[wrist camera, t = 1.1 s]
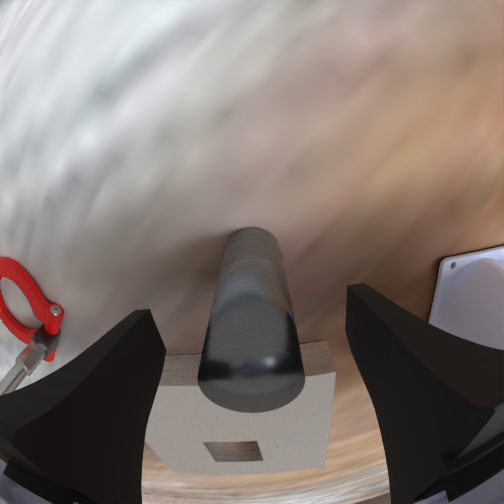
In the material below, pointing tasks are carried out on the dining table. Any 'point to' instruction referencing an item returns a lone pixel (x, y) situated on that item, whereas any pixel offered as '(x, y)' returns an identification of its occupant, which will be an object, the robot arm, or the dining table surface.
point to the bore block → (241, 422)
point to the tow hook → (37, 339)
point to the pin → (251, 330)
